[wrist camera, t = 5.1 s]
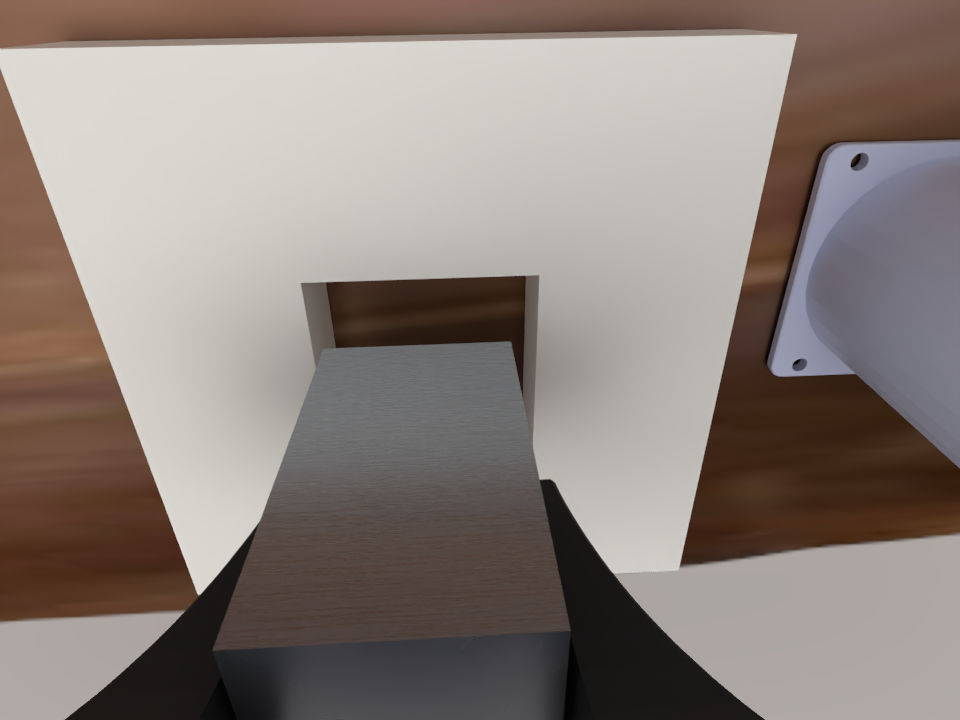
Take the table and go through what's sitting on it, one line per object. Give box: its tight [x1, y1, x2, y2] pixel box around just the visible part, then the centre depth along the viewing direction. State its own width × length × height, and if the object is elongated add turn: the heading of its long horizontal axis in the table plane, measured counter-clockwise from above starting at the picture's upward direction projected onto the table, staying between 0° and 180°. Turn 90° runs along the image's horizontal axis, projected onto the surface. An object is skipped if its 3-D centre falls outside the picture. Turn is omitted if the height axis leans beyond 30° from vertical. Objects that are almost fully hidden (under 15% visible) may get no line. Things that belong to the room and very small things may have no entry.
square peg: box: [212, 342, 571, 720], centre depth 12 cm, size 4×4×8 cm
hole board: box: [0, 29, 797, 595], centre depth 20 cm, size 18×18×3 cm
